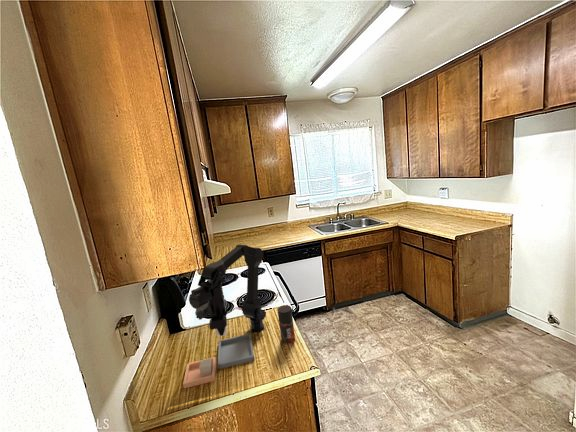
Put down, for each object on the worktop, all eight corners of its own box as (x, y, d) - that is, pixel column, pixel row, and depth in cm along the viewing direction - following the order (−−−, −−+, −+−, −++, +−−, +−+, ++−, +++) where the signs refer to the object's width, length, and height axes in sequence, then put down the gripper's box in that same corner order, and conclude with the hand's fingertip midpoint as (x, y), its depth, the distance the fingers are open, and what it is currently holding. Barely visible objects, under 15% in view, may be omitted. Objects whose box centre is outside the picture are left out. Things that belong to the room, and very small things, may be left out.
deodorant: (286, 346, 113) (282, 314, 111) (278, 340, 118) (274, 309, 116) (297, 340, 117) (294, 308, 114) (289, 334, 122) (286, 303, 119)
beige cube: (217, 331, 111) (215, 322, 110) (227, 329, 112) (225, 320, 111) (216, 337, 107) (215, 328, 107) (227, 334, 108) (225, 325, 107)
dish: (188, 368, 107) (187, 363, 106) (216, 362, 109) (215, 356, 109) (184, 389, 96) (182, 383, 96) (215, 381, 99) (214, 376, 98)
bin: (219, 345, 119) (218, 340, 119) (251, 338, 122) (250, 333, 122) (218, 370, 104) (217, 365, 104) (254, 361, 107) (253, 356, 106)
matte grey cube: (202, 369, 105) (200, 360, 104) (212, 367, 105) (211, 358, 105) (201, 377, 101) (199, 367, 100) (212, 374, 102) (210, 365, 101)
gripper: (197, 290, 114) (203, 324, 117) (191, 312, 96) (199, 351, 99) (224, 285, 117) (229, 318, 119) (223, 305, 99) (229, 344, 101)
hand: (221, 332), depth 110 cm, fingers closed on beige cube, 4 cm apart
